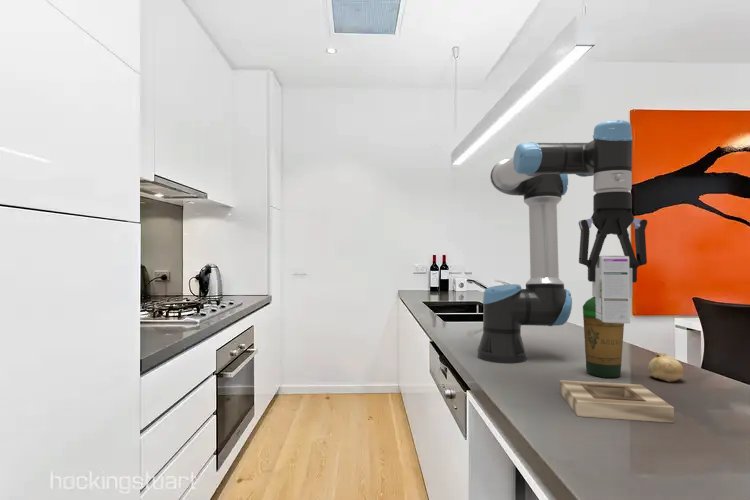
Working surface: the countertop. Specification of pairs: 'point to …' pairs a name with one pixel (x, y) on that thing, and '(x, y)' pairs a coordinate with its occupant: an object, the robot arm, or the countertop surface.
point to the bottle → (602, 344)
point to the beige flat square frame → (615, 401)
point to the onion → (665, 368)
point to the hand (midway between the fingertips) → (611, 296)
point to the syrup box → (613, 290)
